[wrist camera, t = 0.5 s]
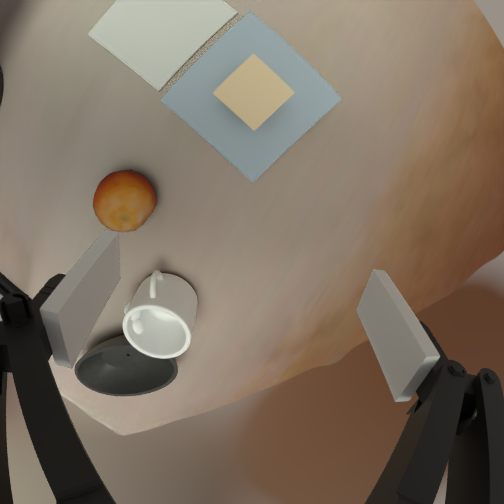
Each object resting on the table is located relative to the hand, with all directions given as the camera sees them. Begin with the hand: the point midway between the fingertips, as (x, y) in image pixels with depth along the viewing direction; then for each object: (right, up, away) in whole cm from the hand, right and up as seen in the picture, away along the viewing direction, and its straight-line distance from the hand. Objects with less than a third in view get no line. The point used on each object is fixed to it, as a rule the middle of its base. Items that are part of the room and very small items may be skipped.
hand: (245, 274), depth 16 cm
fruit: (-16, +9, +26) cm, 32 cm away
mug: (-13, -5, +33) cm, 35 cm away
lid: (0, +17, +14) cm, 22 cm away
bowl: (-22, -17, +39) cm, 48 cm away
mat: (-11, +30, +15) cm, 35 cm away
